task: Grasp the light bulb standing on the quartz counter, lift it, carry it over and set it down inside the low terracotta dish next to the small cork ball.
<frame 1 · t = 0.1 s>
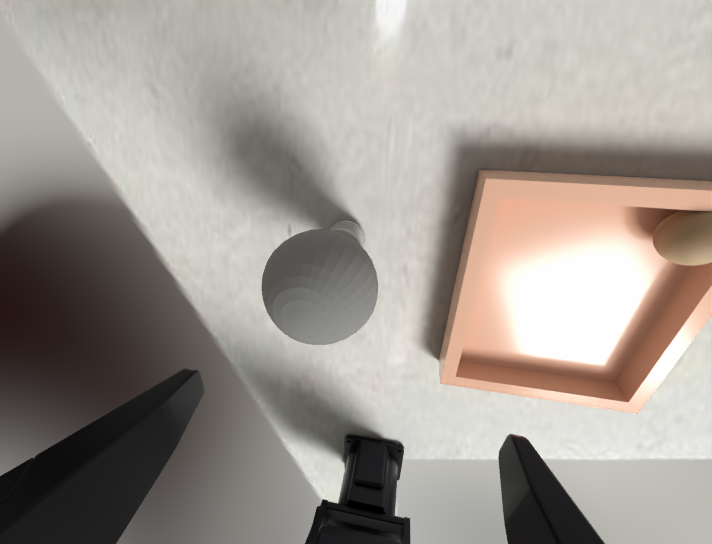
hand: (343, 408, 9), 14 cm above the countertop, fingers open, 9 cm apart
cork ball: (672, 226, 17), point 1 cm above the countertop, touching dish
light bulb: (348, 234, 22), on the countertop
dish: (558, 293, 21), on the countertop
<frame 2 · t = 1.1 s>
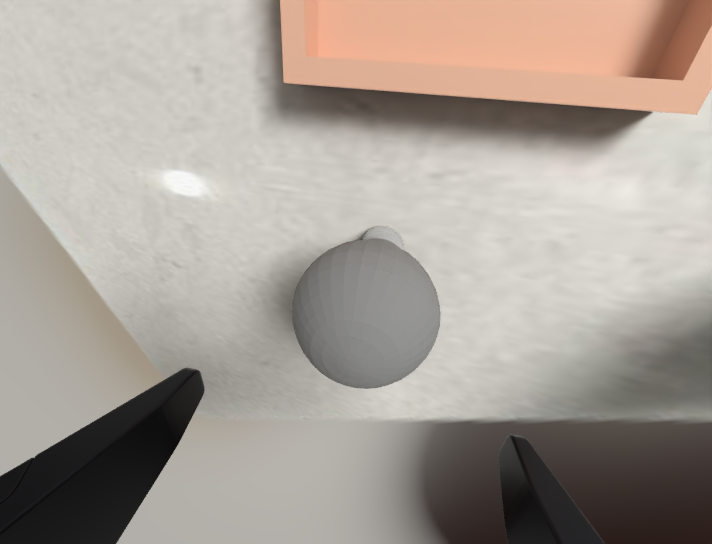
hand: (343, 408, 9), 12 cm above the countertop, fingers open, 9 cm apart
light bulb: (383, 242, 19), on the countertop
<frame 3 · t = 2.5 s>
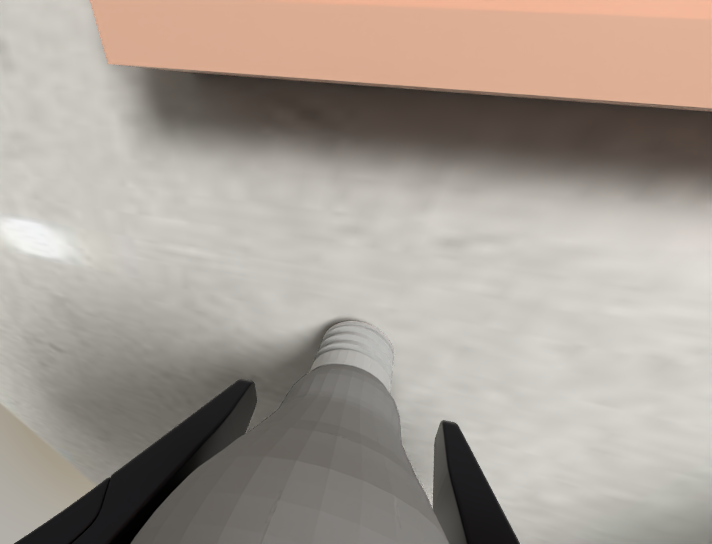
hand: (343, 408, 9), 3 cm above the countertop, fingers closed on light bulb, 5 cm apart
light bulb: (360, 337, 11), on the countertop, touching gripper
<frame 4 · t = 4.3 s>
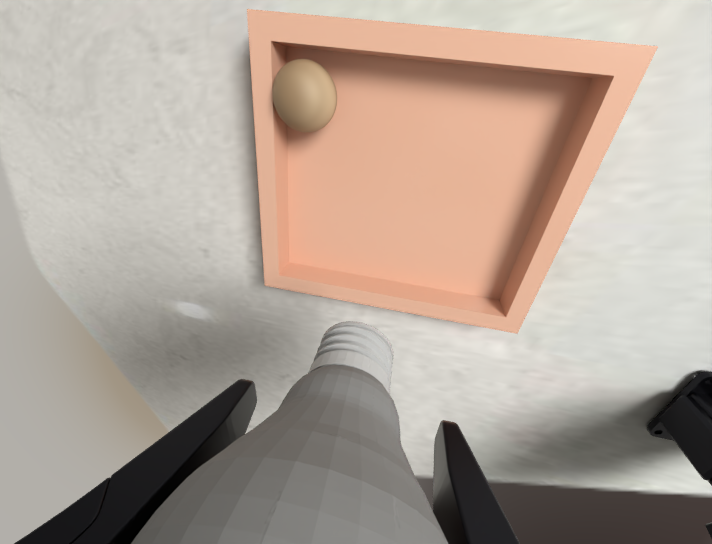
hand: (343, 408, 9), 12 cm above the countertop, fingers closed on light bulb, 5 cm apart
cork ball: (314, 97, 16), point 1 cm above the countertop, touching dish
light bulb: (360, 338, 11), point 9 cm above the countertop, touching gripper
dish: (407, 187, 18), on the countertop
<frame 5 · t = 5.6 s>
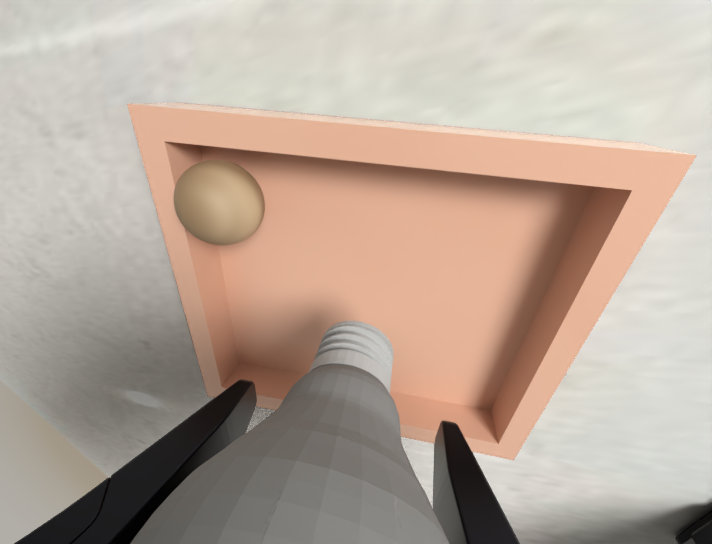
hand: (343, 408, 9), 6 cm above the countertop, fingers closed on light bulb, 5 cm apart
cork ball: (242, 192, 12), point 1 cm above the countertop, touching dish
light bulb: (360, 337, 11), point 3 cm above the countertop, touching gripper
dish: (370, 287, 14), on the countertop
when the fingers open (5 cm above the countertop, at t = 6.3 s): light bulb drops 1 cm, resting on dish.
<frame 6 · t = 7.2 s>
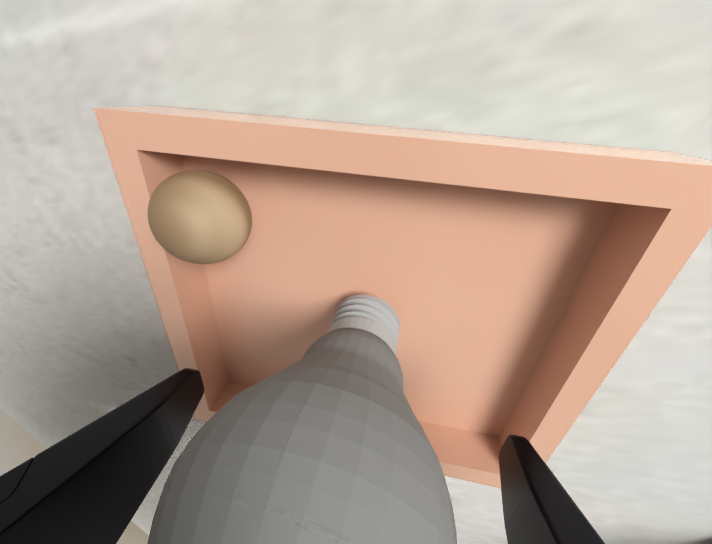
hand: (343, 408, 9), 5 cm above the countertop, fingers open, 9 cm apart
cork ball: (228, 204, 11), point 1 cm above the countertop, touching dish
light bulb: (370, 311, 13), resting on dish
dish: (368, 306, 13), on the countertop
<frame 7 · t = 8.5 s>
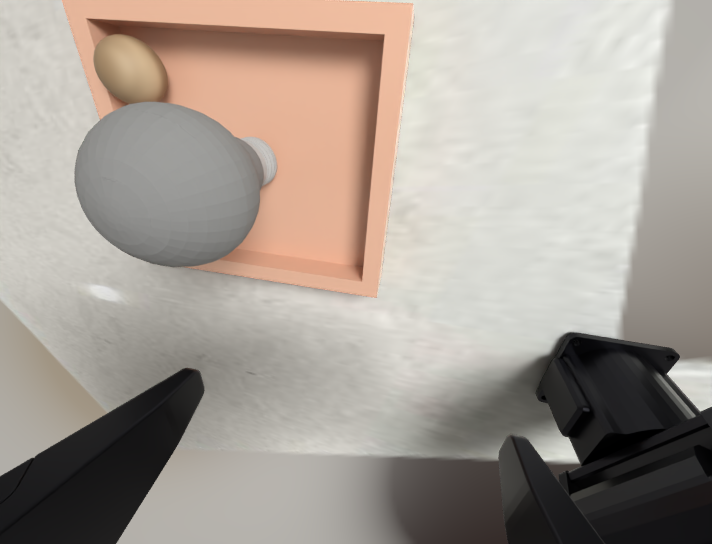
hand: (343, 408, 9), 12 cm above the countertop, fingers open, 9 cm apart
cork ball: (155, 74, 17), point 1 cm above the countertop, touching dish
light bulb: (260, 159, 18), resting on dish
dish: (262, 159, 18), on the countertop
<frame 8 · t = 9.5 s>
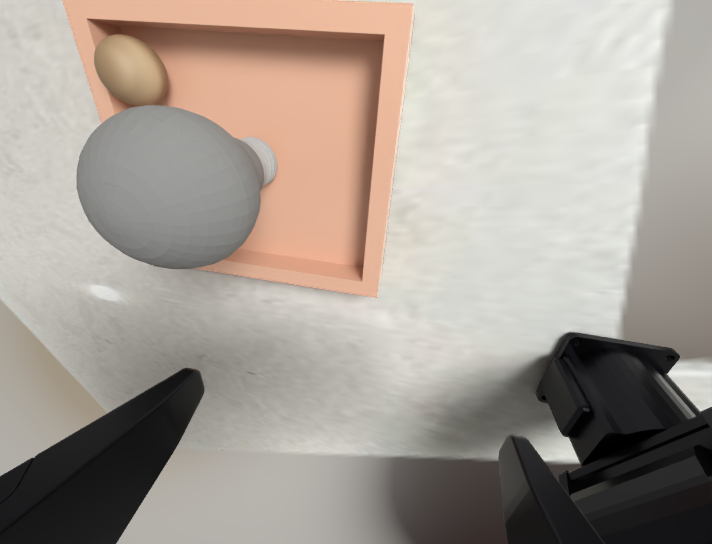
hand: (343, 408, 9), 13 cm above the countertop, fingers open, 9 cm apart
cork ball: (155, 74, 17), point 1 cm above the countertop, touching dish
light bulb: (261, 159, 18), resting on dish
dish: (262, 159, 18), on the countertop
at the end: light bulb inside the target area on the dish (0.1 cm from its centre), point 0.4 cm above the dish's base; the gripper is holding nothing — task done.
